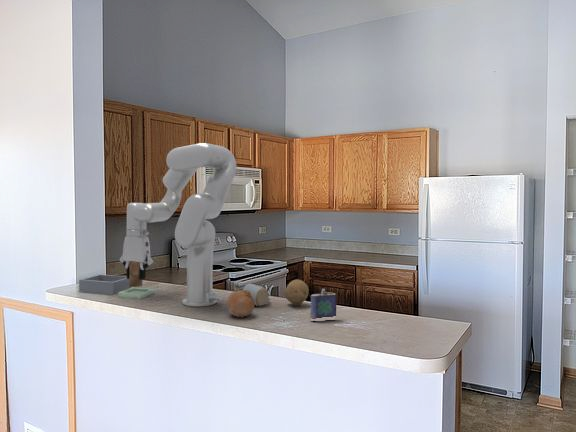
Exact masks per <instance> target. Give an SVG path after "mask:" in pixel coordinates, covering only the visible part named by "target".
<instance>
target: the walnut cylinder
mask: <svg viewBox="0 0 576 432" xmlns="http://www.w3.org/2000/svg"><path fill="white" fill-rule="evenodd" d="M139 270H141V268H140V264H139V262H133V261H130V268H129V286H131V287H132V288H140V287H142V286H143V280H140V279H139Z"/></svg>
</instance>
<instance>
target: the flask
mask: <svg viewBox="0 0 576 432" xmlns="http://www.w3.org/2000/svg"><path fill="white" fill-rule="evenodd" d="M337 298H338V295H337V293H335V292H331V291H330V292H329V291H326V289H325V288H321V291H320V293H314V294H311V295H310V318H312V319H316V318H322V317H333V316H336V317H337V305H338V304H337V301H338V299H337ZM310 318H309V319H310Z"/></svg>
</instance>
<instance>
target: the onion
mask: <svg viewBox="0 0 576 432" xmlns="http://www.w3.org/2000/svg"><path fill="white" fill-rule="evenodd" d="M226 306H227V307H226V308H227V309H228V312H229V313H230V314H231V315H232V317H235V316H238V318H239V317H241V318H245V317H244V316H246V317H248V316H250V315H251V314H252V312H253V311H254V310H255V302H254V299H253V297H252V295H251V294H250V292H249V291H247V290H243V289H242V290H235V291H233V292H231V293H230V294H229V296H228V297H227V301H226Z"/></svg>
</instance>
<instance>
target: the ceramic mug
mask: <svg viewBox="0 0 576 432" xmlns="http://www.w3.org/2000/svg"><path fill="white" fill-rule="evenodd" d="M242 290H247V291H249V292H250V294H251V295H252V297H253V299H254V302H255V305H256V306H255V305H254V306H255V307H263V306H265V305H266V304H267V303H268V302H269V303H270V302H271V298H269V297H270V296H269V291H268V290H267V288H265V287H264V286H260V285H256V284H253V283H247V284H245V285H244V286H243V288H242ZM262 305H263V306H262Z"/></svg>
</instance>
